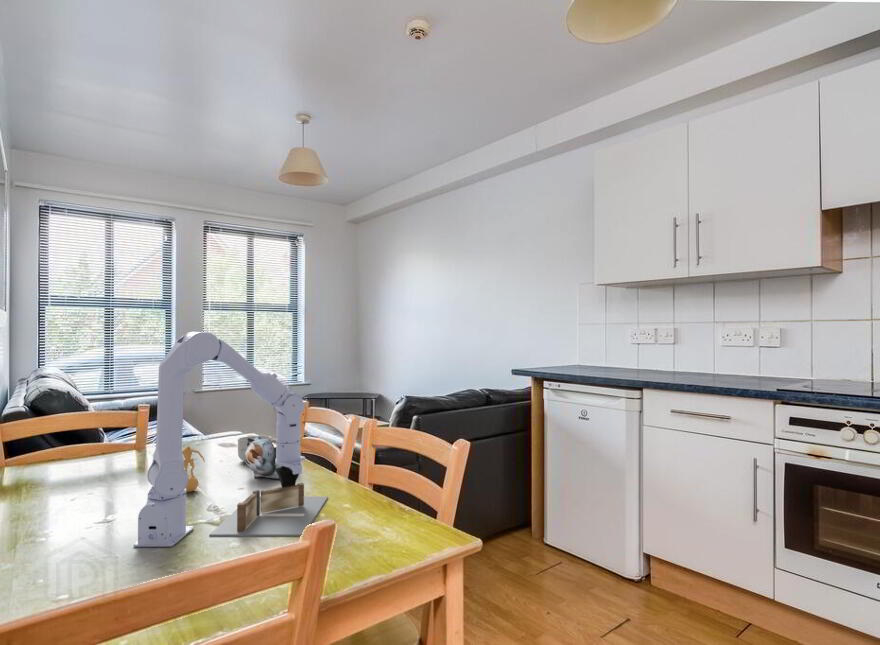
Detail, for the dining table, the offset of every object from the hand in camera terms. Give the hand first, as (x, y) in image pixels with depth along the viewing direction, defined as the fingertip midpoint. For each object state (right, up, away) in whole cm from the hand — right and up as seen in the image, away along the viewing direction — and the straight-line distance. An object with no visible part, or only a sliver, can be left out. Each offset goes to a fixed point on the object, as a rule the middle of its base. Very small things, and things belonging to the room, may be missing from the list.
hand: (288, 496), depth 123 cm
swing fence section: (-1, -2, -2) cm, 3 cm away
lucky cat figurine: (-13, -4, +27) cm, 30 cm away
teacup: (-23, -4, +44) cm, 49 cm away
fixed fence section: (-6, -2, -10) cm, 12 cm away
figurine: (-31, -3, +13) cm, 34 cm away
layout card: (-2, -3, -4) cm, 6 cm away
